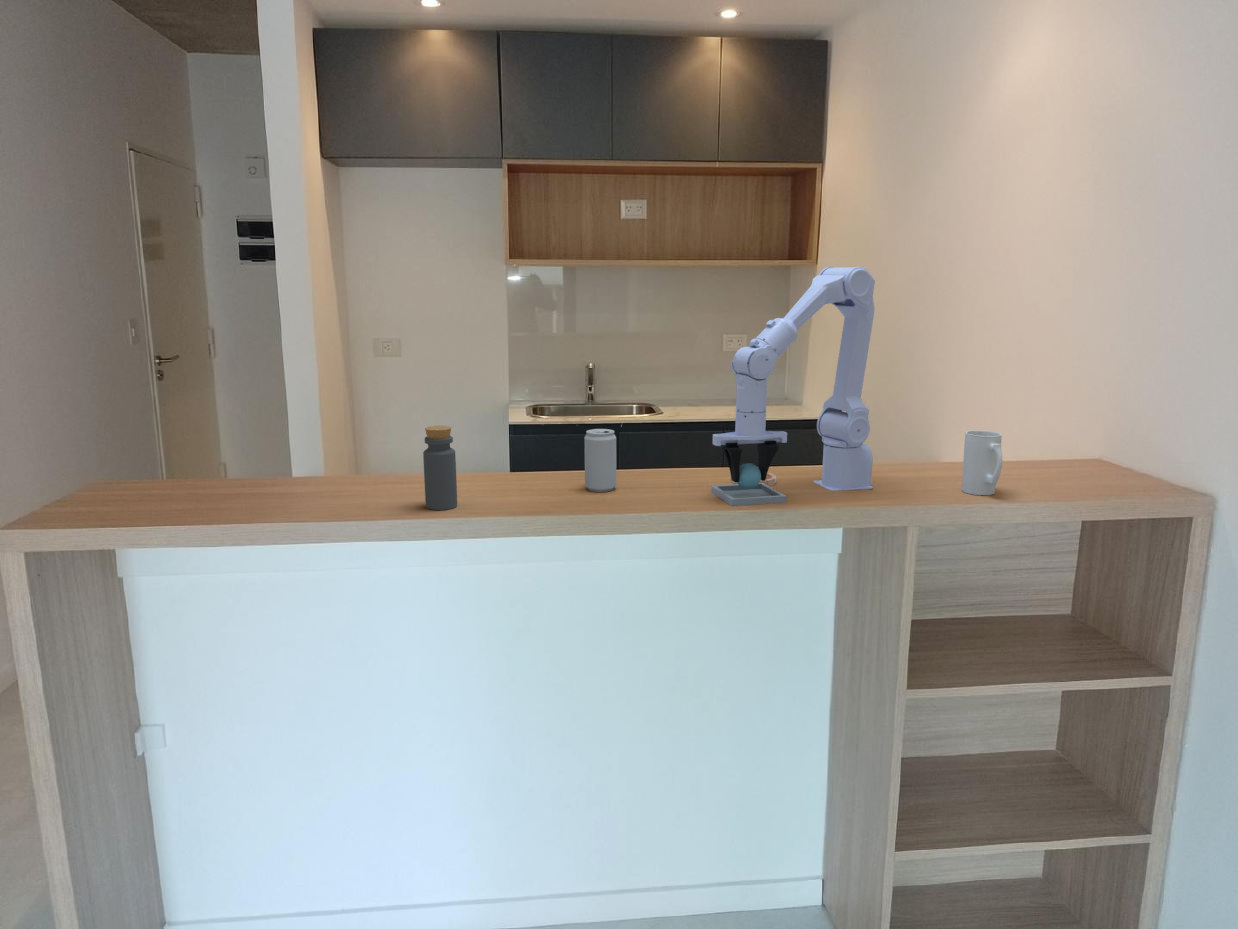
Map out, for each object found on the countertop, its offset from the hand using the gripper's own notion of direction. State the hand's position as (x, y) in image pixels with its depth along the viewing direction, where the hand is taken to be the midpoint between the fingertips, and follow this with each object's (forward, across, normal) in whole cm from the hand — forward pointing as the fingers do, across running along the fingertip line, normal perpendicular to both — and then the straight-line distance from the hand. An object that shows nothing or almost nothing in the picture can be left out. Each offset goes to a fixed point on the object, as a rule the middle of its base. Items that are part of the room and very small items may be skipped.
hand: (748, 480), depth 167 cm
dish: (+4, -6, -12) cm, 13 cm away
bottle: (+4, +58, -8) cm, 59 cm away
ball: (+2, 0, 0) cm, 2 cm away
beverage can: (+4, +26, -14) cm, 30 cm away
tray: (+4, 0, 0) cm, 4 cm away
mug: (+4, -47, +8) cm, 48 cm away
